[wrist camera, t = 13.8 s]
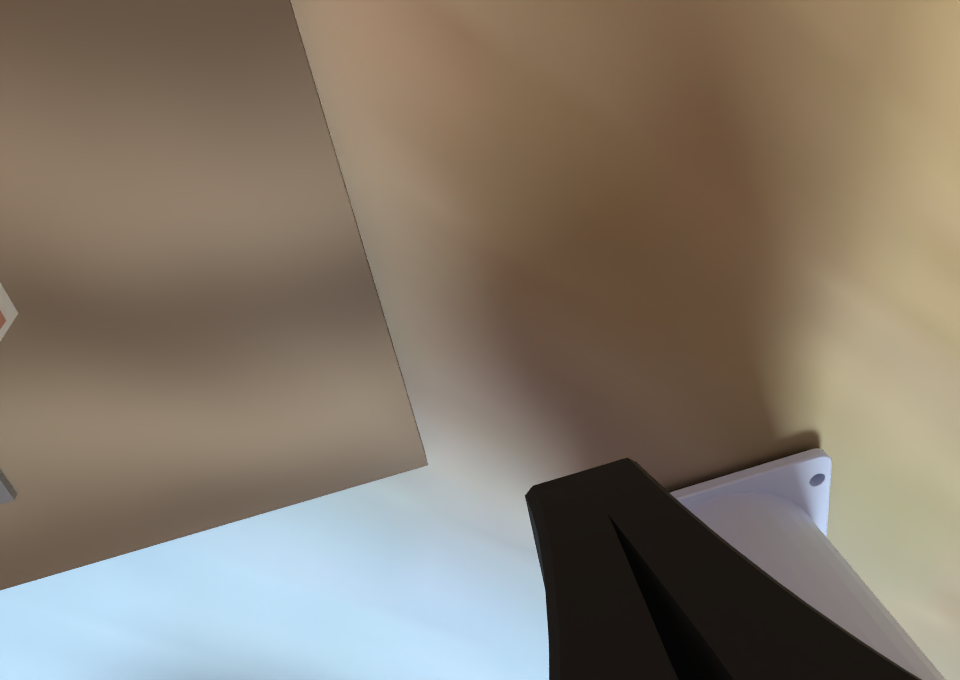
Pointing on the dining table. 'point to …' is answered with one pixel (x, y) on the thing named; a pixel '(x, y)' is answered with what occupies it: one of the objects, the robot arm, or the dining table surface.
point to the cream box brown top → (6, 312)
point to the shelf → (177, 282)
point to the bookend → (6, 489)
